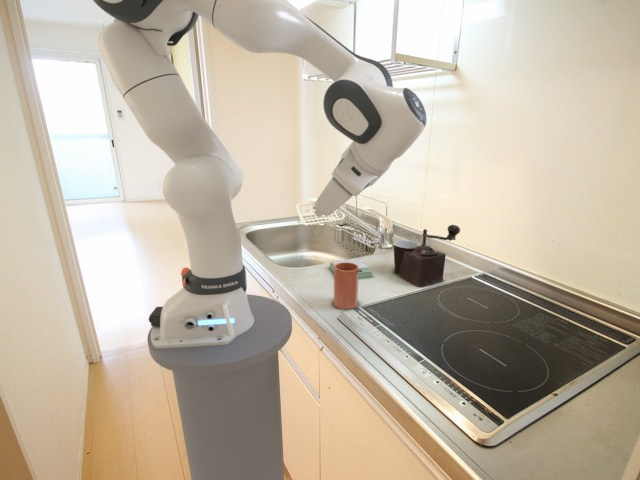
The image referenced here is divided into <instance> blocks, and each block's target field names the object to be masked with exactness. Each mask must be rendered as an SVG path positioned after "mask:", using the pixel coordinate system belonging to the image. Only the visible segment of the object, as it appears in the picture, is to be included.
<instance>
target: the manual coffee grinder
mask: <svg viewBox="0 0 640 480" xmlns="http://www.w3.org/2000/svg"><path fill="white" fill-rule="evenodd" d="M422 232H423V233H422V244H420V245H419V246H416V247H412V248H414V249H413V250H412V251H404V254H403V258H402V262H401V266H400V270H399V275H398V276H399V277H400V278H402V279H404V280H405V281H407V282H409V283H411V284H413V285H414V286H416V287H419V288H421V287H424V286H430V285H434V284H437V283H439V282H442V281H443V280H444V271H445V265H446V264H445V263H446V256H447V254H446V253H445V252H443V251H440V250H437V249H435V248H433V247H431V246H430V245H428V244H427V241H426V240H427V238H428V239H438V240H442V241H449V242H451V241H456V237H457V235H459V234H460V232H461V227H459V226H458V225H455V224H450V225H448V226H447V233H448V234H447V236H446V237H444V236H440V235H431V234H427V233H428V230H427V229H426V228H424V229H423V230H422Z"/></svg>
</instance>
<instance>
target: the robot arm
mask: <svg viewBox="0 0 640 480" xmlns="http://www.w3.org/2000/svg"><path fill="white" fill-rule="evenodd" d="M92 1H93V2H94V3H95V4H96V5H97V6H98V7H99V8H100V9H101V10H102V11H104V12H105V13H106V14H108V15H109V16H111V17H112V18H114V19H113V22H111V23H109V24H107V25H106V26H105V27H103V28H102V30H101V32H100V33H99V35H98V38H97V39H98V40H97V45H98V49H99V52H100V54H101V56H102V59H103V62H104V64H105V66H106V69H107V70H108V73H109V74H110V76H111V79H112V81H113V83H114V84H115V87H116V88H117V90H118V92H119V93H120V95H121V97H122V98H123V100H124V102H125V103H126V105H127V106H128V108H129V110H130V112H131V113H132V115H133V116H134V118H135V120H136V121H137V123H138V125H139V126H140V128H141V129H142V131H143V132H144V134H145V136H146V137H147V138H148V140H149V141H150V142H151V143H152V144H154V145H155V146H157V147H158V148H159V149H160V150H161V151H163V152H164V154H165V155H166V156H167V157H168V158H169V159H170V160H171V162H173V163H174V165H173V166H172V167H171V168H170V169H169V170H168V172H167V173H166V174H165V176H164V178H163V180H162V195H163V197H164V199H165V202H166V203H167V205H168V206H169V207H170V208H171V209H172V210H173V211H175V213H176V215H177V218H178V221H179V223H180V225H181V228H182V230H183V233H184V237H185V241H186V244H187V253H188V257H189V258H188V259H189V265H190V267H183V268H182V269H181V272H180V276H181V282H182V288H181V289H179V290H178V291H177V292H176V293H174V294H173V295H172V296H170V297H169V298H167V300H166V301H165V302H164V304H163V306H156V307H154V310H153V311H151V313H150V315H149V316H148V322H149V323H150V327H151V328H152V326H153V328H152V331H151V343H152V345H153V346H154V347H155V348H157V349H166V348H183V347H199V346H216V345H227V344H229V343H230V342H232V341H233V340H234V339H235V338H236V337H237V336H239V335H241V334H243V333H244V332H246V331H247V330H249V329H250V328H251V327H252V326H253V324H254V317H253V314H252V312H251V309H250V306H249V303H248V298H247V288H248V280H247V271H246V268H245V265H244V262H243V249H242V248H243V247H242V237H241V233H240V230H238V227H237V224H236V221H235V217H234V214H233V209H232V200H233V199H235V198H236V197H237V196H238V195H239V193H240V192H241V189H242V187H243V181H244V176H243V174H244V173H243V170H242V167H241V166H240V164H239V163H238V162H237V161H236V160H235V159H234V158H233V157H232V155H231V154H230V153H229V151H228V149H227V148H226V146H225V145H224V143H223V142H222V141H221V139H220V138H219V137H218V135H217V134H216V133H215V132H214V130H213V129H212V127H211V126H210V125H209V123H208V122H207V120H206V119H205V118H204V116H203V115H202V113H201V111H200V109H199V107H198V106H197V104H196V102H195V100H194V99H193V97H192V95H191V93H190V92H189V89H188V87H187V86H186V84H185V82H184V81H183V79H182V77H181V75H180V73H179V72H178V70H177V68H176V67H175V64H174V63H173V61H172V59H171V56H170V55H169V51H168V47H174V46H176V45H178V44H179V42H180V41H181V40H182V39H183V37H184V36H185V35H186V34H188V33H189V32H190V31H191V30H192V29H194V26H195V25H196V24H197V21H198V18H199V17H201V18H202V19H203V20H204V21H205V22H207V23H208V24H209V25H210V26H211V27H213V28H214V29H215V30H216V31H217V32H219V33H220V34H221V35H222V36H223V37H225V38H226V39H227V40H228V41H230V42H232V43H233V44H235V45H236V46H238V47H240V48H242V49H244V50H245V51H247V52H249V53H253V54H255V53H256V54H269V53H270V54H271V53H273V54H275V53H276V54H288V55H292V56H296V57H298V58H301V59H302V60H305V61H306V62H307V63H309V64H310V65H311V66H312V67H314V68H316V69H317V70H318V71H320V72H321V73H322V74H323V75H325V76H326V77H327V78H329V79H330V80H331V81H333V83H332V84H331V85H329V86H328V88H327V89H326V91H325V93H324V96H323V102H322V103H323V105H322V106H323V111H324V114H325V117H326V120H327V121H328V122H329V124H330V125H331V126H332V127H334V129H335V130H336V131H338V132H339V133H341V134H342V135H343V136H345V137H347V138H348V139H350V140H351V141H352V142H351V143H350V144H349V145H348V146H347V147H346V149H345V150H344V152H343V153H342V154H341V156H340V158H339V161H338V164H337V165H336V167H335V168H334V170H333V171H332V172H331V176H332V177H331V178H330V180H329V181H328V183H327V184H326V185H325V187H324V188H323V190H322V191H321V192H320V194H319V195H318V197H317V199H316V200H315V203H314V207H315V210H314V214H315V216H317V217H318V218H321V217H322V216H325V217H329V216H330V215H332V214H333V213H334V212H336V211H337V210H339V208H340V207H342V206H343V205H344V204H345V203H346V202H348V201H349V200H350V199H351V198H352V197H355V198H356V197H357V196H358V195H360V193H362V192H363V191H364V190H365V189H367V188H369V187H372V186H373V185H374V184H375V183H376V182H377V181H378V180H379V179H380V178H382V176H383V175H384V174H385V173H387V171H388V170H389V169H390V168H391V166H392V164H393V162H394V161H395V160H397V159H399V158H400V157H402V156H403V155H404V154H406V152H407V151H408V150H409V149H410V148H411V147H412V146H413V145H414V143H415V142H416V141H417V140H418V139H419V138H420V136H421V135H422V133H423V132H424V130H425V128H426V125H427V112H426V109H425V106H424V104H423V102H422V101H421V99H420V98H419V96H417V94H416V93H415V92H414V91H413V90H411V89H410V88H408V87H394V83H393V79H392V76H391V74H390V72H389V70H388V69H387V68H386V67H385V66H384V65H383V64H382V63H381V62H379V61H377V60H374V59H371V58H368V57H364V56H361V55H360V54H357V53H356V52H353V51H352V50H350V49H349V48H348V47H346V46H345V45H344V44H343V43H342V42H340V41H339V40H338V39H336V38H335V37H334V36H332V35H331V34H330V33H328V31H326V30H325V29H324V28H322V27H321V26H320V25H318V24H317V23H316V22H314V20H311V19H310V18H309V17H307V15H305V14H303V13H302V12H301V11H300V10H299V9H298V8H297V7H295V6H294V5H293V4H292V3H290V2H289V1H288V0H92Z"/></svg>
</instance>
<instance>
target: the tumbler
mask: <svg viewBox="0 0 640 480" xmlns="http://www.w3.org/2000/svg"><path fill="white" fill-rule="evenodd" d="M358 273H359V266H358V265H356V264H354V263H348V262H343V263H338V264H336V265H335V266H334V273H333V306H335V307H336V308H338V309H341V310H351V309H354V308H356V307H357V306H358V294H359V278H358Z"/></svg>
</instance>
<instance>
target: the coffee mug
mask: <svg viewBox="0 0 640 480" xmlns="http://www.w3.org/2000/svg"><path fill="white" fill-rule="evenodd" d="M419 245H421V244H420V243H419V242H417V241H414V240H407V239H401V240H400V239H399V240H396V241H393V263H394V264H393V265H394V273H395V274H396V275H398V276H399V270H400V266H401V262H402V258H403V254H404V251H412V250H413V249H414V248H412V247H416V246H419Z"/></svg>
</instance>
